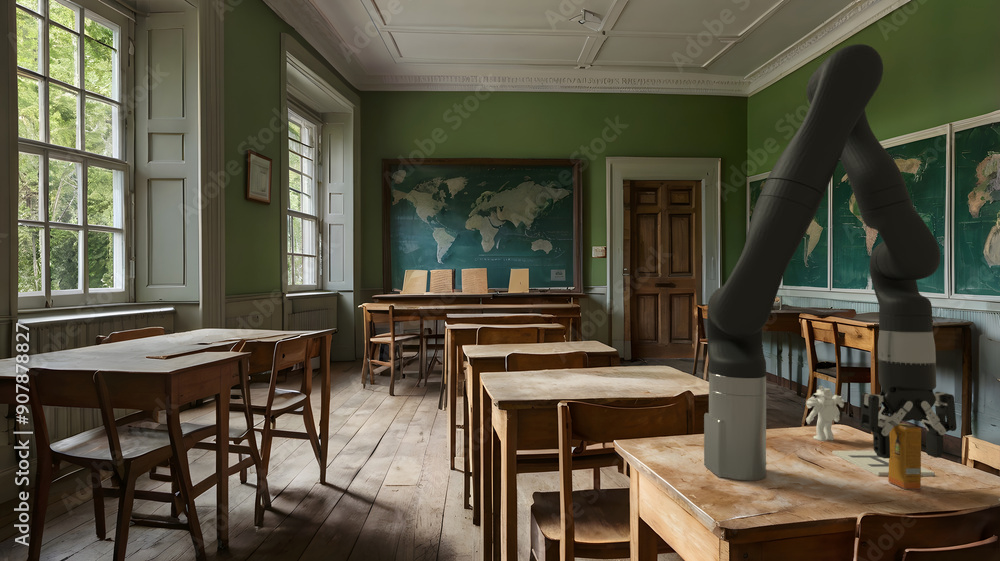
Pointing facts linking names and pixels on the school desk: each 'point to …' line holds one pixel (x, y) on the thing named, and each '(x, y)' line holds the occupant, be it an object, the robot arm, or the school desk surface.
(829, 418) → the white toy figure
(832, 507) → the school desk surface
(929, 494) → the school desk surface
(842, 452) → the letter pad
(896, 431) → the supplement box
